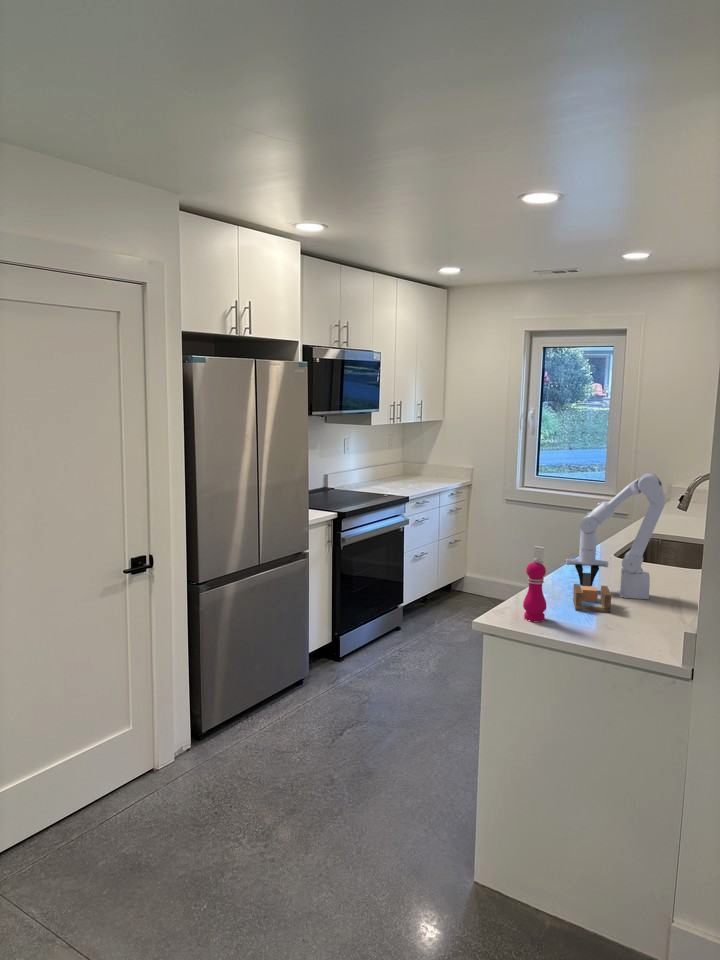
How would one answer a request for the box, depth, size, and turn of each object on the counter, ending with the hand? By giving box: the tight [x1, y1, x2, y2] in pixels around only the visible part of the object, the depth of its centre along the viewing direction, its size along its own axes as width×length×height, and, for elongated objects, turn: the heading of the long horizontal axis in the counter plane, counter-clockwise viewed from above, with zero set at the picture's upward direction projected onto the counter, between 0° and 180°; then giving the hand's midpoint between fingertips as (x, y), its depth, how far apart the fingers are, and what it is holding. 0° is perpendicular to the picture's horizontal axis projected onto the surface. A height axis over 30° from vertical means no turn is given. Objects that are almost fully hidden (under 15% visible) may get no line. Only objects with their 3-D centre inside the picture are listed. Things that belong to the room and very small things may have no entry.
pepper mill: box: [522, 557, 547, 622], centre depth 216 cm, size 7×7×20 cm
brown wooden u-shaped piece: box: [572, 583, 612, 614], centre depth 230 cm, size 11×11×6 cm
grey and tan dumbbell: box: [580, 572, 599, 603], centre depth 242 cm, size 5×16×6 cm, turn 167°
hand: (586, 585), depth 249 cm, fingers closed on grey and tan dumbbell, 3 cm apart
